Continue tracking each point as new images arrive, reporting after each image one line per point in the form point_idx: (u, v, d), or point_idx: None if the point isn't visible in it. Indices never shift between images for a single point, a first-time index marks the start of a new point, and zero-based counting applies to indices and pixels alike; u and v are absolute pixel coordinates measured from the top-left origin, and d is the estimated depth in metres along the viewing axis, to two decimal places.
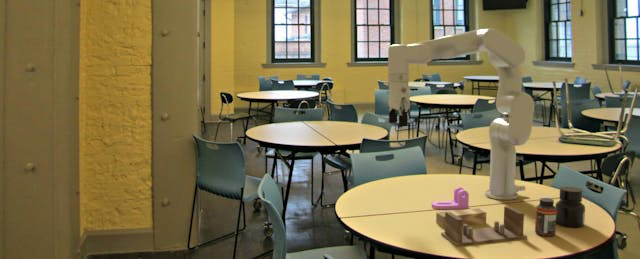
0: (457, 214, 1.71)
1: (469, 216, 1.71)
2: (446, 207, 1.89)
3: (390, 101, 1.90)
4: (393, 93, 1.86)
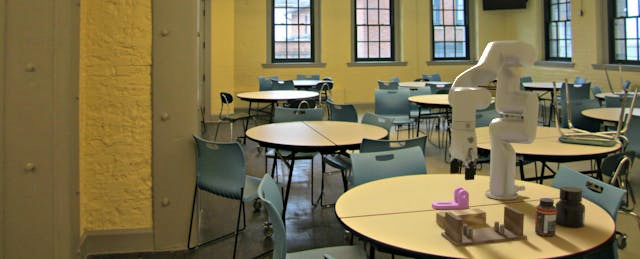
0: (457, 214, 1.71)
1: (469, 216, 1.71)
2: (446, 207, 1.89)
3: (453, 150, 1.71)
4: (458, 142, 1.67)
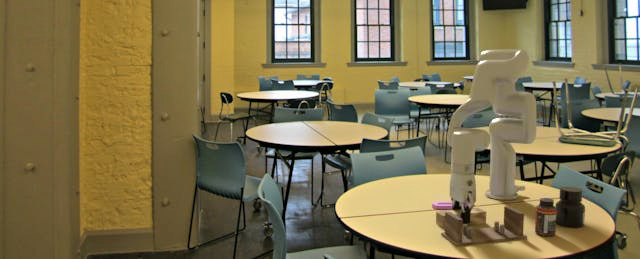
0: (457, 213, 1.71)
1: None
2: (447, 207, 1.89)
3: (452, 192, 1.73)
4: (457, 185, 1.69)
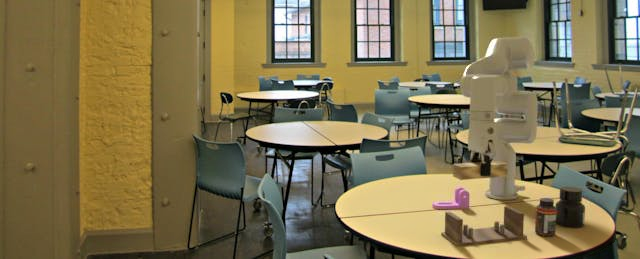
0: (476, 165, 1.57)
1: None
2: (447, 207, 1.89)
3: (471, 142, 1.60)
4: (477, 134, 1.56)
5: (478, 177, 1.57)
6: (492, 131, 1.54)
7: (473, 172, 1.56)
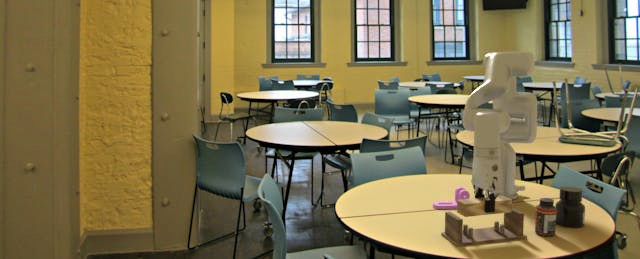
0: (480, 201, 1.56)
1: None
2: (447, 207, 1.89)
3: (475, 178, 1.59)
4: (481, 170, 1.55)
5: (482, 214, 1.56)
6: (496, 168, 1.53)
7: (477, 209, 1.55)
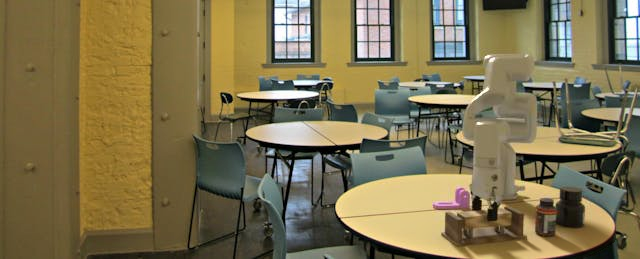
0: (480, 214, 1.57)
1: None
2: (447, 207, 1.89)
3: (475, 187, 1.59)
4: (480, 180, 1.55)
5: (482, 227, 1.57)
6: (496, 178, 1.53)
7: (477, 222, 1.56)
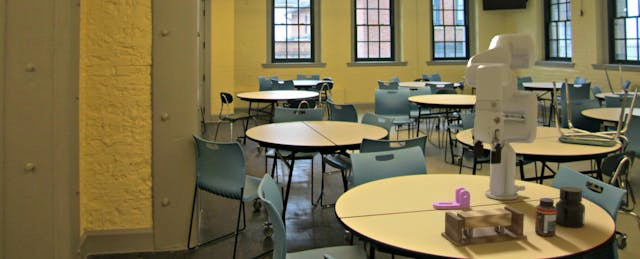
0: (480, 214, 1.57)
1: (493, 216, 1.57)
2: (447, 207, 1.89)
3: (477, 132, 1.58)
4: (483, 123, 1.55)
5: (482, 227, 1.57)
6: (499, 120, 1.53)
7: (477, 222, 1.56)
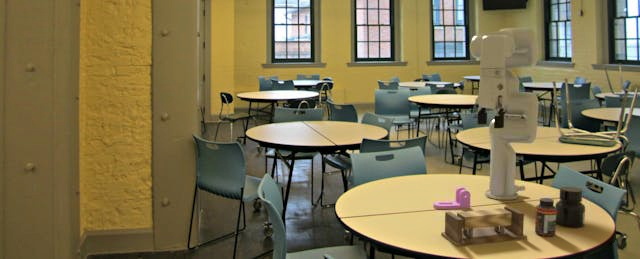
0: (480, 214, 1.57)
1: (493, 216, 1.57)
2: (448, 207, 1.89)
3: (481, 99, 1.68)
4: (487, 90, 1.64)
5: (482, 227, 1.57)
6: (502, 87, 1.62)
7: (477, 222, 1.56)
